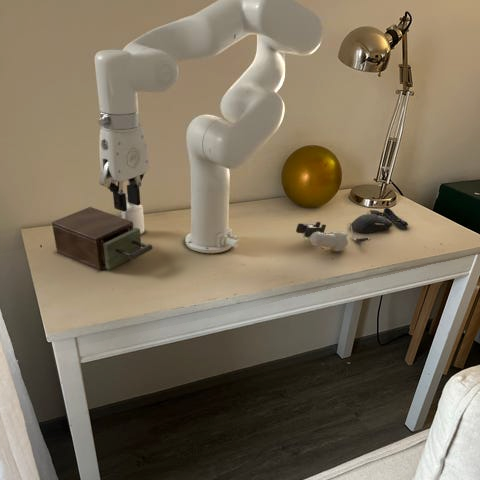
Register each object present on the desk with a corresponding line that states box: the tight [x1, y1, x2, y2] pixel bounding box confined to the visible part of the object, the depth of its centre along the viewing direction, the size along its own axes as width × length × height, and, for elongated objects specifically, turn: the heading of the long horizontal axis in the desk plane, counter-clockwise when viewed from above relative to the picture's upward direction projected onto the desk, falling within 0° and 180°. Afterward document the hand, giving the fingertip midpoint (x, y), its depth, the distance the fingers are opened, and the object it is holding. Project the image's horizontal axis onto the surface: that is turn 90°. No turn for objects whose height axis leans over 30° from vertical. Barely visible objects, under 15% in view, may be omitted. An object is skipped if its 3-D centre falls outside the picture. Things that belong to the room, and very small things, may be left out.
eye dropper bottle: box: [121, 194, 145, 235], centre depth 131 cm, size 4×6×12 cm
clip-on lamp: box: [295, 221, 371, 252], centre depth 133 cm, size 12×6×18 cm
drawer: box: [99, 227, 153, 270], centre depth 121 cm, size 19×11×6 cm, turn 57°
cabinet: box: [51, 206, 133, 271], centre depth 123 cm, size 15×12×8 cm
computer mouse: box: [349, 207, 409, 234], centre depth 147 cm, size 12×18×4 cm
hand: (127, 206), depth 112 cm, fingers open, 3 cm apart
